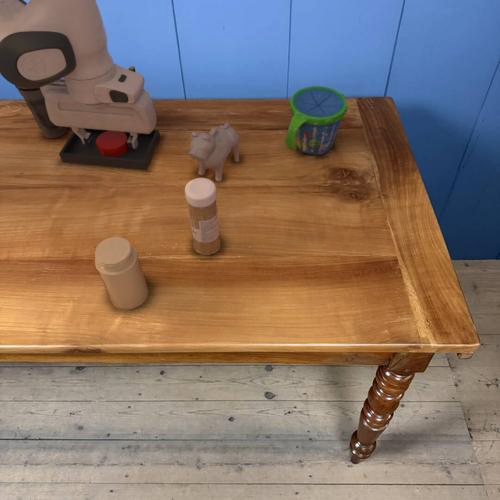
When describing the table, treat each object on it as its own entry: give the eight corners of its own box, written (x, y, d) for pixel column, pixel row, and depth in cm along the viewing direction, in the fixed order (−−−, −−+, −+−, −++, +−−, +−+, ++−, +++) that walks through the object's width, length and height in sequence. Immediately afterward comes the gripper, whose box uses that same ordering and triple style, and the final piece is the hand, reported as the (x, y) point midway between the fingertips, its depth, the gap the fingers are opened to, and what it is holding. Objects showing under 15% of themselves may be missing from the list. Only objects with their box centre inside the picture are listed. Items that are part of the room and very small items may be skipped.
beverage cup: (37, 125, 98) (-4, 30, 83) (72, 119, 99) (38, 24, 84) (36, 144, 93) (-7, 48, 78) (73, 138, 95) (37, 42, 79)
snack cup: (303, 175, 87) (308, 131, 80) (267, 148, 93) (268, 104, 85) (358, 141, 94) (368, 97, 86) (321, 118, 99) (327, 74, 91)
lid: (112, 161, 89) (109, 153, 88) (92, 149, 92) (89, 141, 90) (135, 146, 92) (133, 137, 91) (115, 134, 95) (113, 126, 93)
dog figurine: (185, 185, 86) (177, 139, 78) (220, 147, 93) (217, 101, 85) (209, 195, 84) (204, 149, 76) (243, 155, 91) (242, 109, 83)
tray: (62, 162, 90) (58, 154, 89) (81, 130, 97) (78, 122, 95) (146, 170, 89) (144, 162, 87) (160, 137, 95) (159, 129, 93)
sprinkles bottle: (190, 239, 78) (180, 180, 67) (216, 232, 78) (210, 173, 68) (197, 259, 75) (188, 201, 64) (224, 252, 76) (219, 194, 65)
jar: (105, 307, 69) (84, 264, 61) (117, 276, 73) (99, 231, 64) (142, 312, 69) (126, 269, 60) (152, 280, 72) (139, 236, 64)
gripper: (28, 87, 80) (55, 150, 91) (142, 96, 78) (155, 159, 89) (43, 68, 84) (67, 130, 95) (152, 76, 82) (163, 139, 93)
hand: (110, 144), depth 92 cm, fingers open, 8 cm apart
